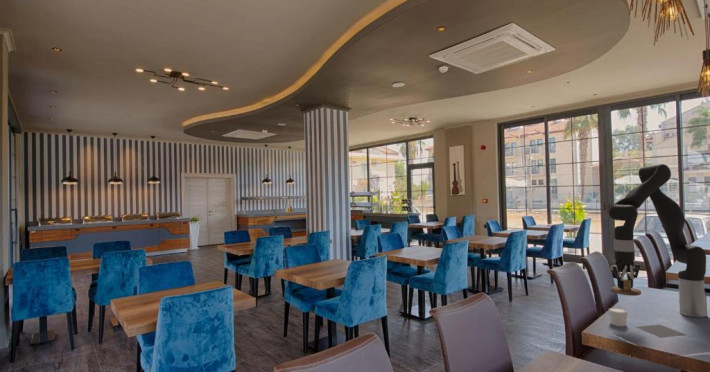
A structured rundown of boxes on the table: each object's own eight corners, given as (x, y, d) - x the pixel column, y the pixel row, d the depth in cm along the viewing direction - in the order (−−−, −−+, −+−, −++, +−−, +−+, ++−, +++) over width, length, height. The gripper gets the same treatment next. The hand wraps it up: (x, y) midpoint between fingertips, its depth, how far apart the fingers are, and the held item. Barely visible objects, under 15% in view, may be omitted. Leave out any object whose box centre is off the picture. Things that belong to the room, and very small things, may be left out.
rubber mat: (660, 326, 169) (659, 324, 169) (686, 336, 157) (686, 334, 157) (635, 328, 167) (635, 326, 167) (661, 339, 155) (661, 337, 155)
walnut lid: (626, 288, 176) (625, 276, 176) (647, 294, 165) (647, 282, 165) (604, 289, 174) (604, 277, 174) (625, 296, 163) (624, 283, 163)
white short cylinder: (610, 321, 177) (609, 306, 177) (628, 324, 172) (627, 309, 172) (608, 326, 171) (607, 310, 171) (627, 329, 167) (626, 313, 167)
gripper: (630, 247, 174) (632, 284, 174) (603, 249, 172) (604, 286, 172) (645, 250, 167) (646, 289, 167) (617, 251, 165) (618, 291, 165)
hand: (625, 287), depth 169 cm, fingers closed on walnut lid, 4 cm apart
